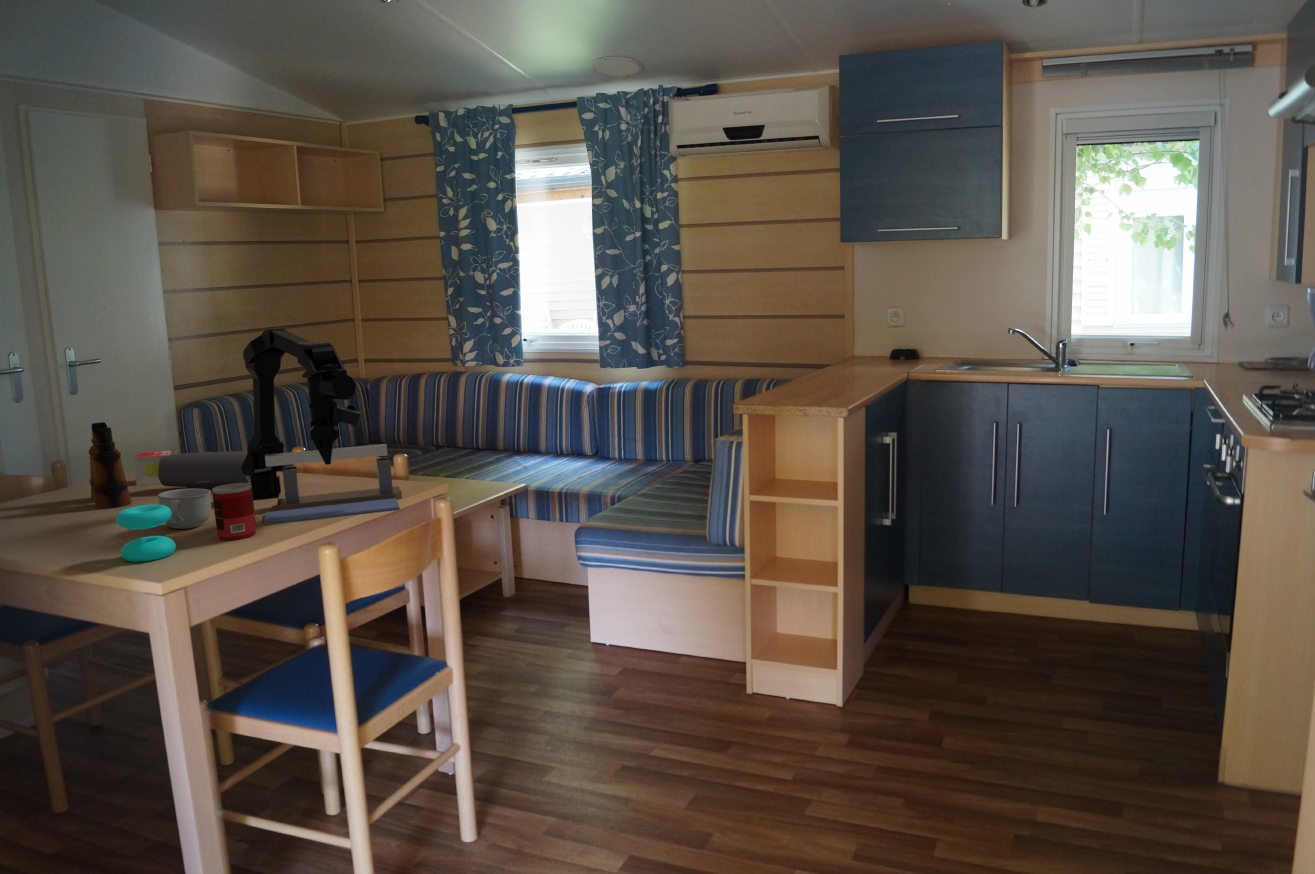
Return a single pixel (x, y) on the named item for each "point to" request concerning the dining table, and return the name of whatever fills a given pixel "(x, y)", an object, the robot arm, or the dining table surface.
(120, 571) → the dining table surface
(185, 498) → the teacup
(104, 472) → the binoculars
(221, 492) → the canned food
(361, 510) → the mat
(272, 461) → the rail
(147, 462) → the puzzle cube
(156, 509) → the donuts
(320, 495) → the stand
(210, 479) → the bluetooth speaker
